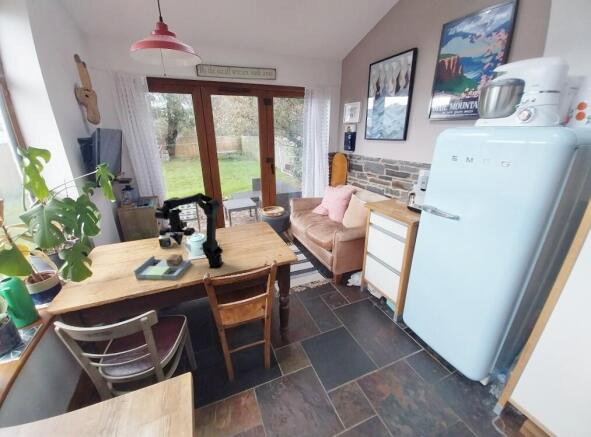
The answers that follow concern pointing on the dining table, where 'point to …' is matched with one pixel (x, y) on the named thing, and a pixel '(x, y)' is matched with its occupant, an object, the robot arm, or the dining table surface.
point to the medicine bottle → (165, 241)
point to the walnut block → (174, 260)
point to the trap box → (160, 269)
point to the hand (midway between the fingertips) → (180, 244)
